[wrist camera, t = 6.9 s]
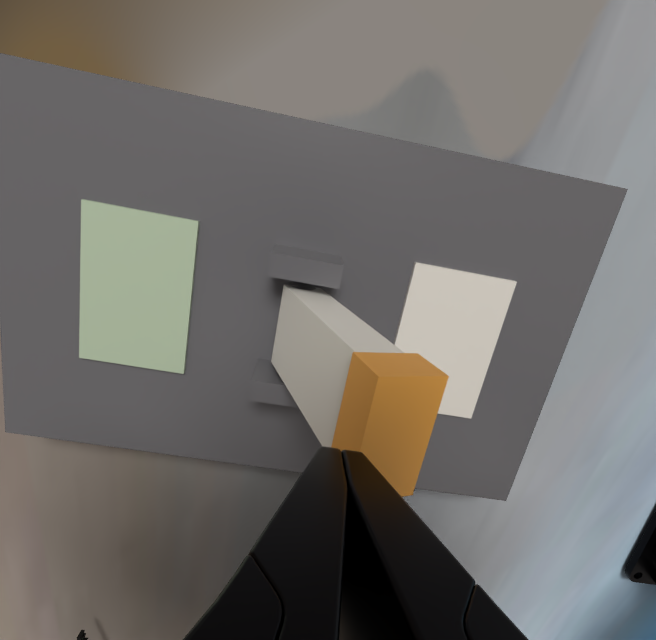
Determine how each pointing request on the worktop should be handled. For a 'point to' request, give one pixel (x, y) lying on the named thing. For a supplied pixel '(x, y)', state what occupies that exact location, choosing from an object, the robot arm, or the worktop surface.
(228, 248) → the breaker block
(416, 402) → the breaker lever
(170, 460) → the worktop surface
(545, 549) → the worktop surface
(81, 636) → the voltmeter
